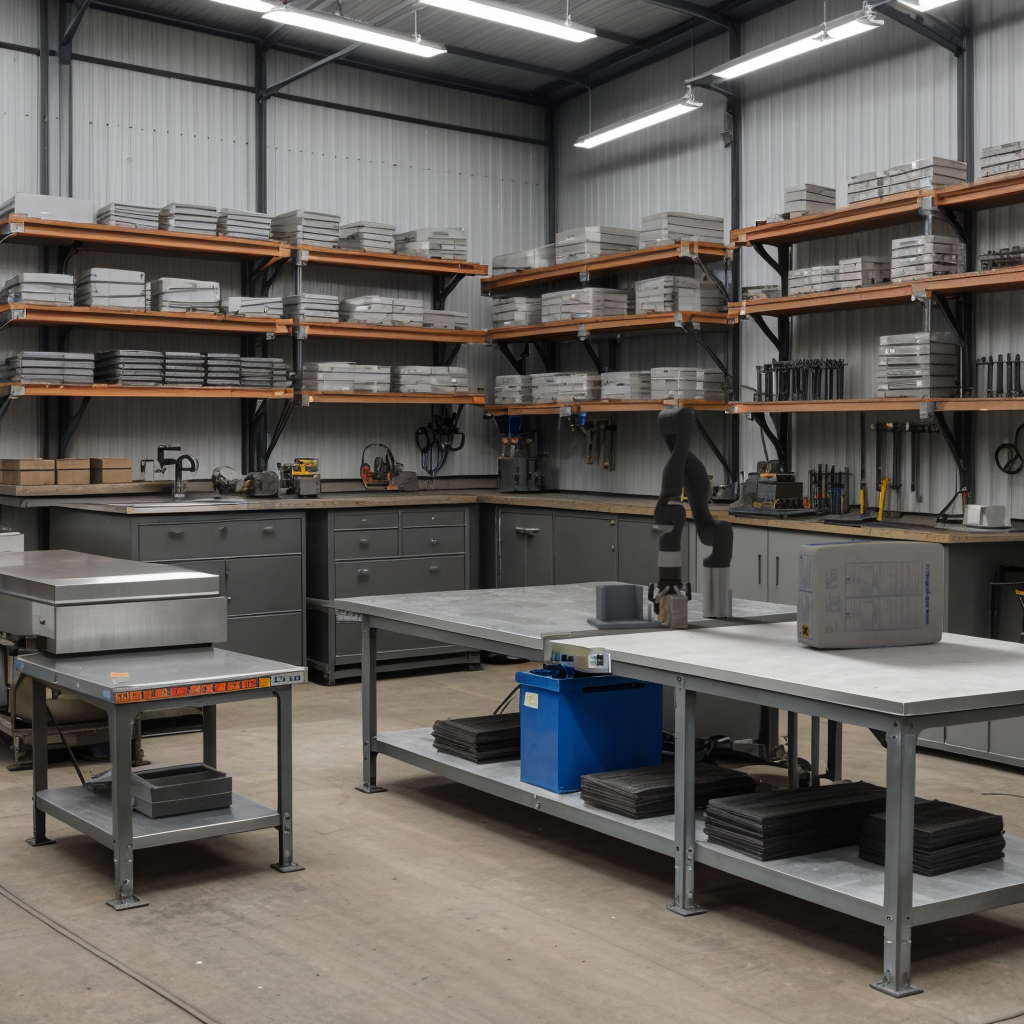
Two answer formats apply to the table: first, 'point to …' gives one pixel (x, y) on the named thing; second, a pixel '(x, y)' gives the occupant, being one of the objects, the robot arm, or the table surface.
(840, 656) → the table surface
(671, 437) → the robot arm
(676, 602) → the door
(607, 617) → the grey corner bracket
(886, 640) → the construction material bag
